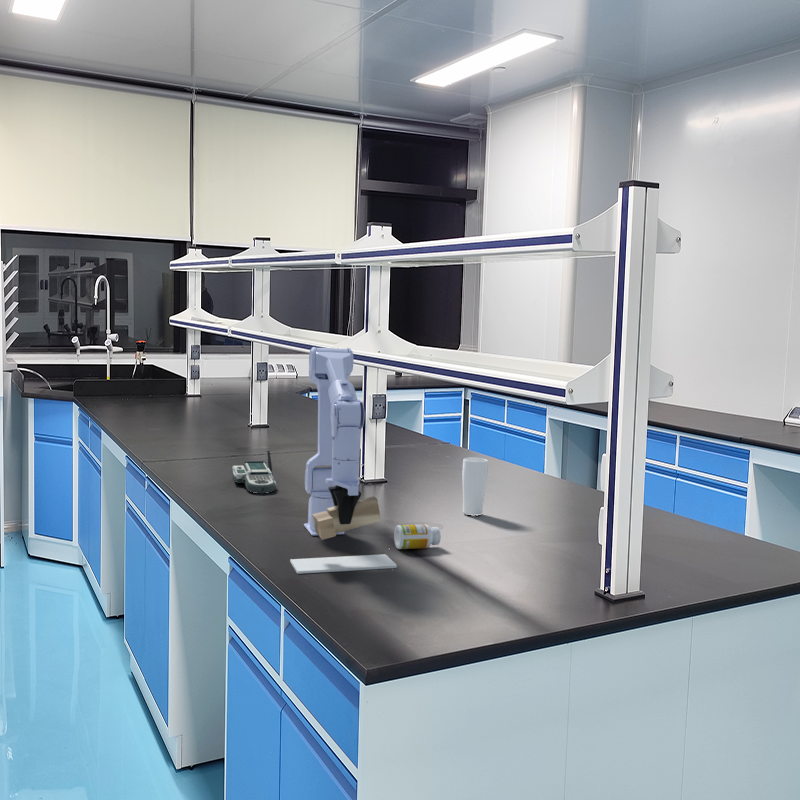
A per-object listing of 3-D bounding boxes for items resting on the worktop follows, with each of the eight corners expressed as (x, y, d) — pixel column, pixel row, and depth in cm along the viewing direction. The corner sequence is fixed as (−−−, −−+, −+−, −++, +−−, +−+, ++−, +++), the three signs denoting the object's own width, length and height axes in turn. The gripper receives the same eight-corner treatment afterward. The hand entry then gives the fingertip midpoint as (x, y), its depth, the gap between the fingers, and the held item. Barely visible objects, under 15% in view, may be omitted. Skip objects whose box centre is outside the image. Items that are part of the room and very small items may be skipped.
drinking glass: (470, 518, 213) (473, 462, 211) (454, 512, 219) (457, 458, 217) (490, 516, 217) (493, 460, 215) (474, 510, 222) (477, 456, 221)
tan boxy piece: (315, 532, 172) (311, 509, 171) (375, 516, 176) (371, 494, 175) (322, 539, 167) (317, 516, 166) (383, 523, 170) (379, 500, 170)
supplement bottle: (394, 549, 184) (434, 547, 187) (401, 549, 179) (442, 548, 182) (393, 525, 185) (433, 524, 188) (400, 524, 180) (441, 523, 183)
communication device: (238, 496, 228) (239, 466, 227) (230, 478, 251) (230, 450, 250) (281, 495, 232) (282, 465, 231) (268, 477, 255) (269, 449, 253)
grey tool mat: (290, 561, 170) (290, 559, 170) (385, 556, 177) (385, 554, 177) (297, 573, 162) (297, 571, 162) (396, 567, 169) (396, 565, 169)
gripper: (319, 452, 175) (317, 514, 176) (335, 465, 161) (333, 531, 163) (350, 452, 177) (348, 513, 178) (369, 464, 163) (366, 530, 165)
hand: (343, 522), depth 171 cm, fingers closed on tan boxy piece, 2 cm apart
